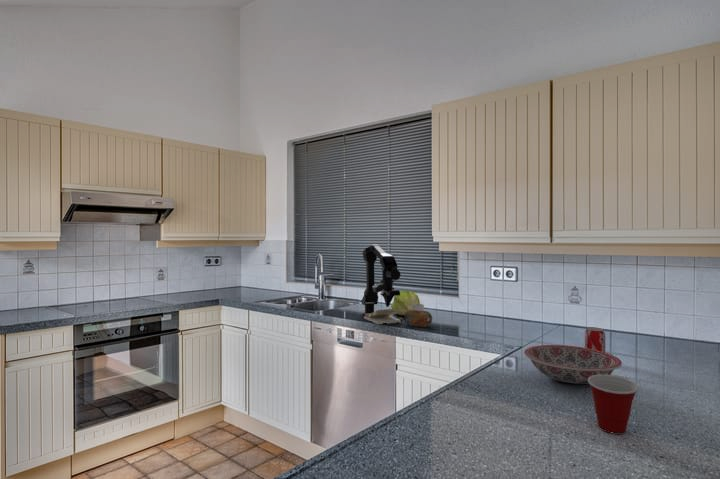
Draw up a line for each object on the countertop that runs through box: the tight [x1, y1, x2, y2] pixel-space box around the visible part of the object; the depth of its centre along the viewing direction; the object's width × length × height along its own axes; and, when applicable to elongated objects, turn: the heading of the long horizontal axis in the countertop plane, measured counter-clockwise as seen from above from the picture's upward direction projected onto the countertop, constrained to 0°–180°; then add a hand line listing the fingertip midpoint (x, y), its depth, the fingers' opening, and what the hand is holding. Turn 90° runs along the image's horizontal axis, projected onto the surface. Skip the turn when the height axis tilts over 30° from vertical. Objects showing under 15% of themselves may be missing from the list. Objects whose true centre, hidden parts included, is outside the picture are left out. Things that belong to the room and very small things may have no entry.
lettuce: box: [390, 290, 421, 316], centre depth 259 cm, size 17×24×14 cm
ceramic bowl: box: [523, 344, 623, 385], centre depth 144 cm, size 29×29×8 cm
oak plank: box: [368, 308, 399, 317], centre depth 243 cm, size 14×13×2 cm
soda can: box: [584, 326, 606, 353], centre depth 167 cm, size 7×7×12 cm
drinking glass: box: [412, 303, 425, 311], centre depth 238 cm, size 7×7×10 cm
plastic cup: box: [588, 374, 639, 434], centre depth 107 cm, size 11×11×12 cm
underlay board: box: [363, 313, 402, 325], centre depth 245 cm, size 18×14×3 cm
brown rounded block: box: [403, 310, 433, 328], centre depth 230 cm, size 15×3×8 cm, turn 62°
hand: (387, 306), depth 238 cm, fingers closed
